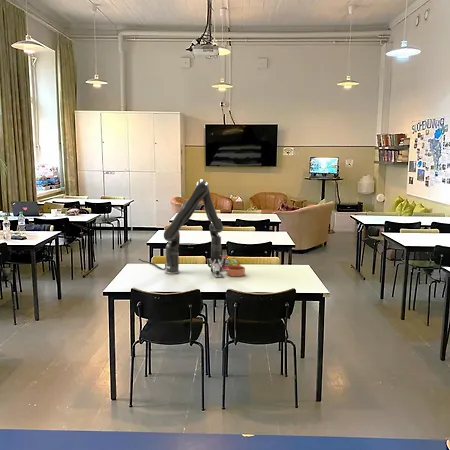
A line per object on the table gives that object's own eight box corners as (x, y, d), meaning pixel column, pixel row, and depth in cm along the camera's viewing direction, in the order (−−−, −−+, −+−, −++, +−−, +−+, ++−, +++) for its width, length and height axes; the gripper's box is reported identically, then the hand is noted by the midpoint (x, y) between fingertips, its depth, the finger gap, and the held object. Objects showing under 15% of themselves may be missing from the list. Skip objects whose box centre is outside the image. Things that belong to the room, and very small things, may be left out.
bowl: (224, 272, 330) (224, 266, 329) (242, 271, 333) (242, 265, 332) (229, 277, 317) (229, 270, 316) (247, 276, 320) (247, 269, 319)
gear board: (242, 267, 337) (217, 268, 334) (242, 270, 337) (217, 271, 335) (233, 254, 381) (211, 255, 378) (233, 257, 381) (211, 258, 379)
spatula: (211, 272, 332) (211, 267, 332) (218, 271, 333) (218, 267, 333) (216, 278, 316) (216, 273, 315) (223, 277, 317) (223, 273, 316)
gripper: (224, 248, 331) (224, 270, 334) (205, 249, 328) (205, 271, 331) (227, 250, 324) (227, 273, 327) (207, 251, 321) (207, 274, 323)
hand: (216, 272), depth 329 cm, fingers open, 5 cm apart
